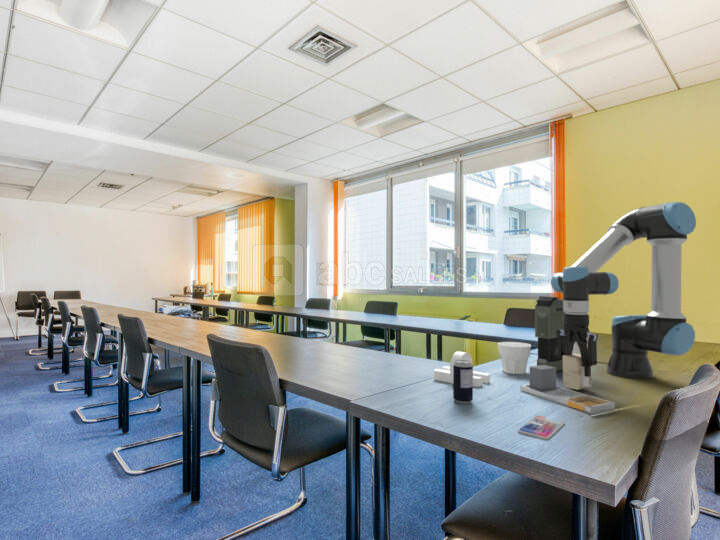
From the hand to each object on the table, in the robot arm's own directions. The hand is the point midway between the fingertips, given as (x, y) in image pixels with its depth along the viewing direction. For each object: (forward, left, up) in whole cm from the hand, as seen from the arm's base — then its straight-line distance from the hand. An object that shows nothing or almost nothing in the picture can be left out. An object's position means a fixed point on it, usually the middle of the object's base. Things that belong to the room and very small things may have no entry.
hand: (576, 383), depth 133 cm
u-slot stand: (+26, -26, -3) cm, 37 cm away
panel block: (0, 0, -1) cm, 1 cm away
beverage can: (+41, -7, -3) cm, 42 cm away
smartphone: (+37, +18, -3) cm, 42 cm away
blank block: (+12, -3, -2) cm, 13 cm away
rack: (+12, +5, -3) cm, 14 cm away
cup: (-3, -29, -3) cm, 29 cm away
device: (-18, -24, -3) cm, 30 cm away
